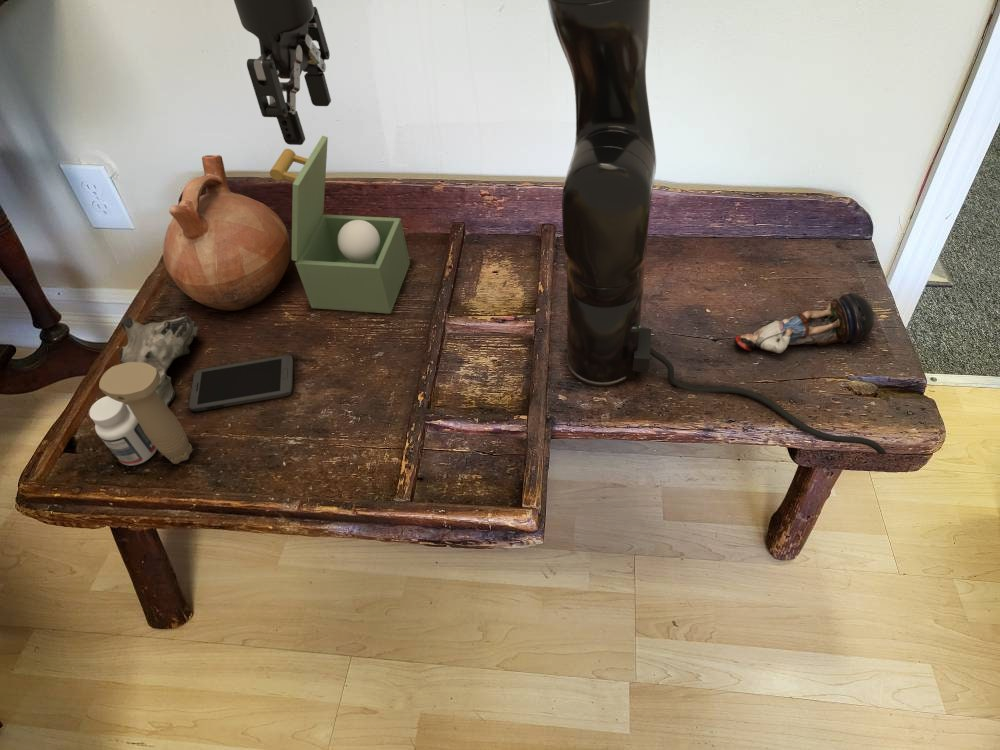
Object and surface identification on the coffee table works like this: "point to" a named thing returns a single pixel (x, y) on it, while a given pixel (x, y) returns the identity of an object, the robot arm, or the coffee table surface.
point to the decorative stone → (158, 346)
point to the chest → (353, 267)
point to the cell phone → (242, 383)
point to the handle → (147, 407)
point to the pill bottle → (121, 431)
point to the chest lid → (304, 191)
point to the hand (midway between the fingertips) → (309, 123)
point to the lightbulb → (359, 242)
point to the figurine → (816, 326)
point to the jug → (224, 243)
